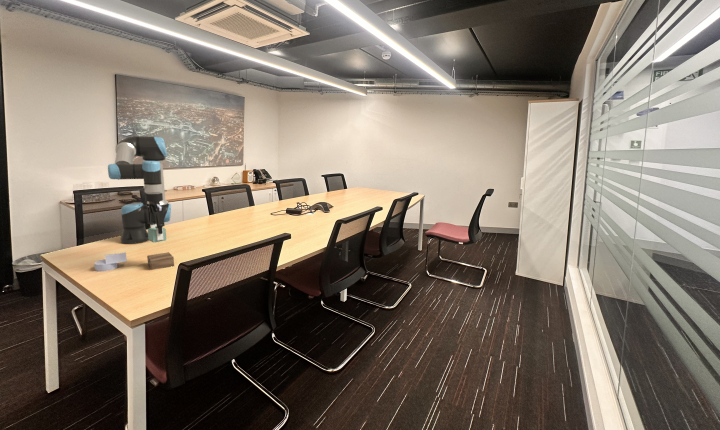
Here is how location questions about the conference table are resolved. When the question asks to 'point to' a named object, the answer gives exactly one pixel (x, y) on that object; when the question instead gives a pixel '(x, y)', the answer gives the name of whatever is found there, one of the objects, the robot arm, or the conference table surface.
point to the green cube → (155, 235)
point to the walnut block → (160, 260)
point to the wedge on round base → (110, 262)
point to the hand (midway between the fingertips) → (157, 238)
